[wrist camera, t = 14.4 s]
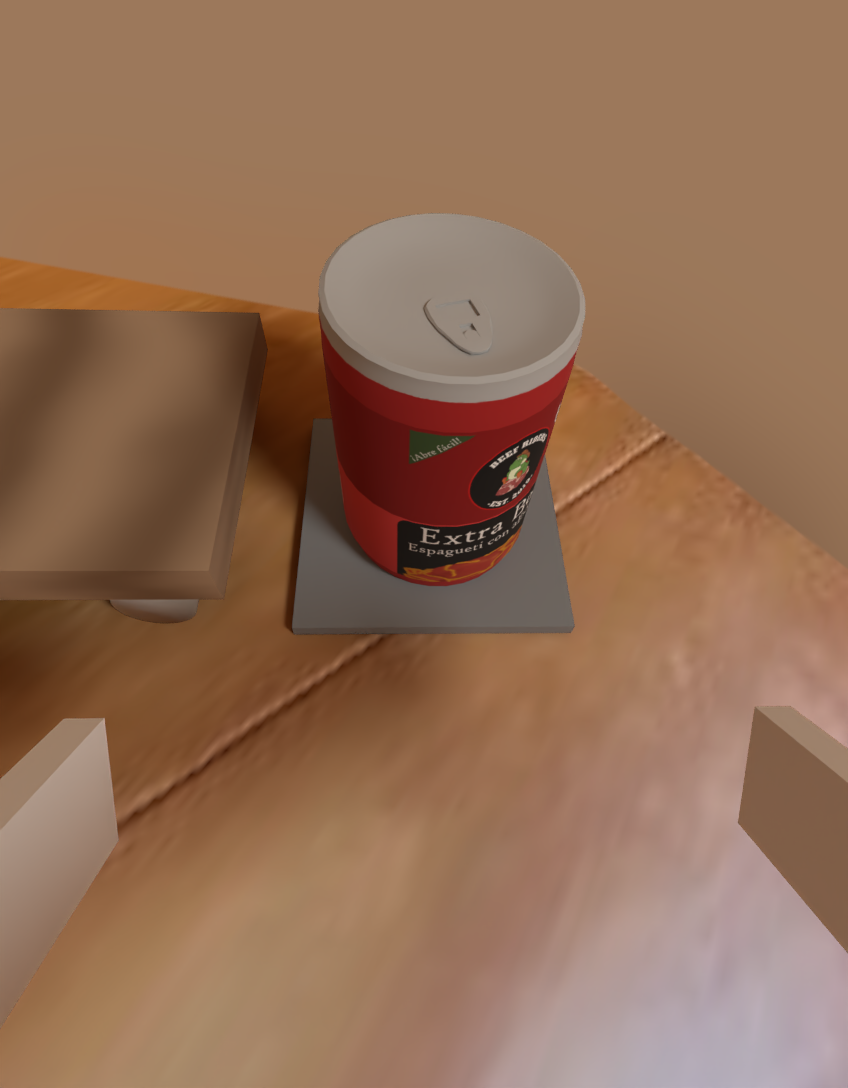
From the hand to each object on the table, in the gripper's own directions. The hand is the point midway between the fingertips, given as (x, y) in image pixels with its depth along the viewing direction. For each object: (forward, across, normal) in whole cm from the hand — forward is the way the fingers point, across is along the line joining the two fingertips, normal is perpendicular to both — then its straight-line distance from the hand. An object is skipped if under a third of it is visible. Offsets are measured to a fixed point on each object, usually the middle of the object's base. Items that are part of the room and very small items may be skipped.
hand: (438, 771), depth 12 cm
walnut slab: (+16, -15, +3) cm, 23 cm away
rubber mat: (+15, +1, +2) cm, 16 cm away
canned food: (+15, +1, +3) cm, 15 cm away
